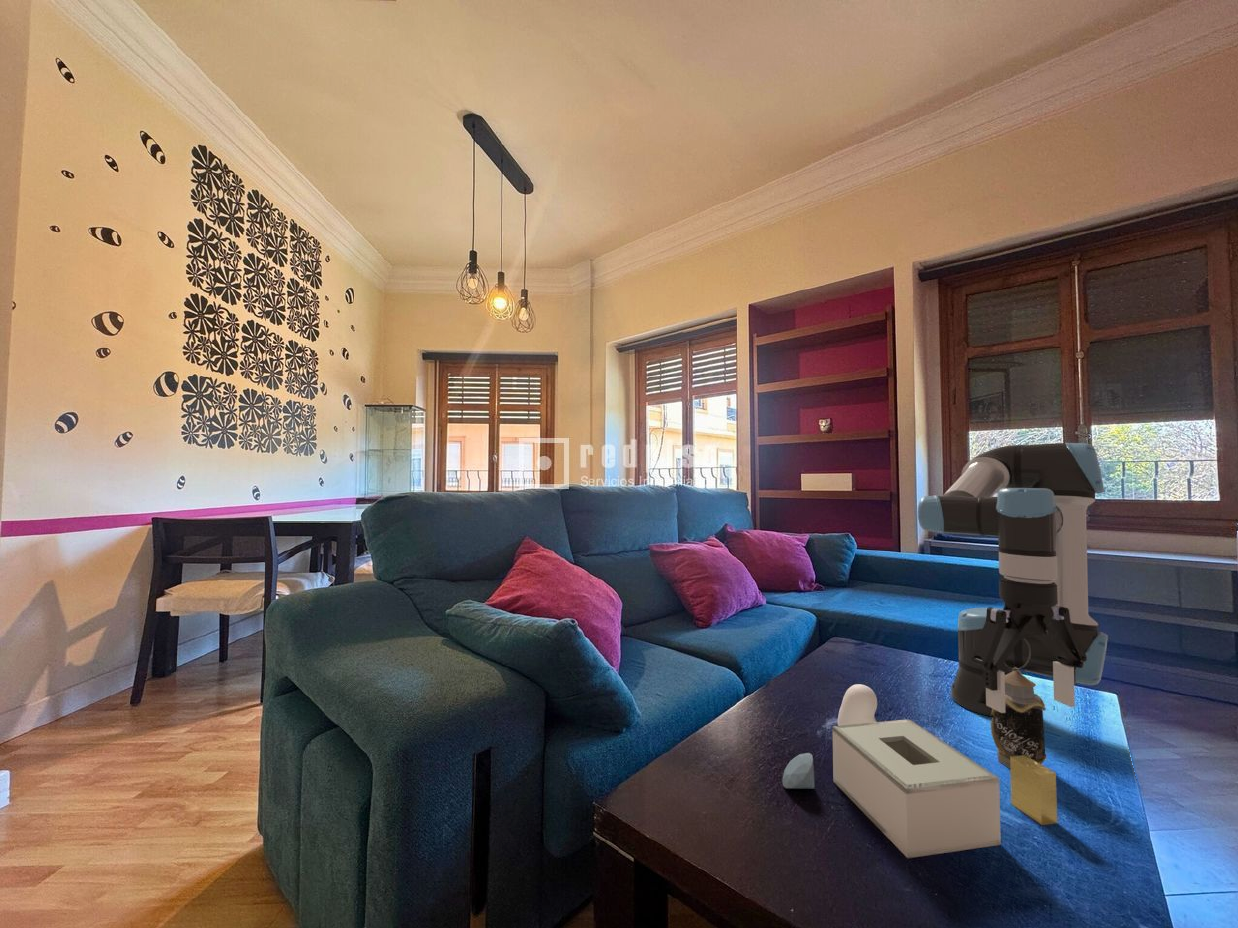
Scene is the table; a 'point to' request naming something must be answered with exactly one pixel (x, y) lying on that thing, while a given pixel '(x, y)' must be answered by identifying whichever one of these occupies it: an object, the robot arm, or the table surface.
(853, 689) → the figurine
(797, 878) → the table surface
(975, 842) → the coin box
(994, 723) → the ring-topped bottle ornament
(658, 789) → the table surface
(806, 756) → the gemstone
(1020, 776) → the tan rectangular block
